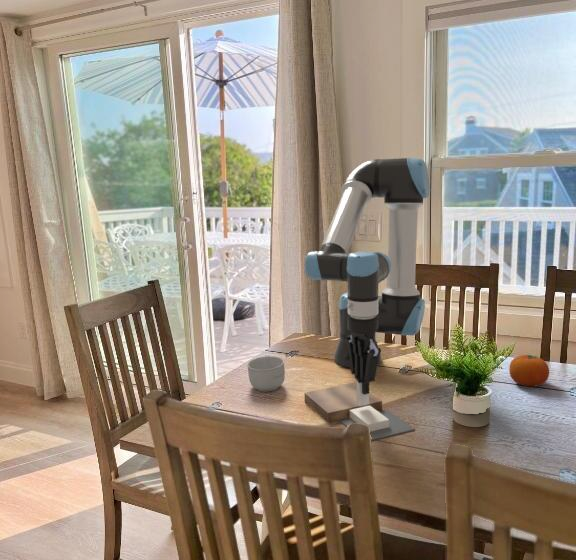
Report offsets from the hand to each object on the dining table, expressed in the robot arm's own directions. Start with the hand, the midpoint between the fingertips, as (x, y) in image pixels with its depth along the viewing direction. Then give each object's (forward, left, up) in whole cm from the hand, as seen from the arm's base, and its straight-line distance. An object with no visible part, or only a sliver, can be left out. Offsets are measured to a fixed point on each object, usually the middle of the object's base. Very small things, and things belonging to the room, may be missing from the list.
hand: (362, 403), depth 142 cm
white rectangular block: (0, +4, -3) cm, 5 cm away
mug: (-30, +6, -4) cm, 30 cm away
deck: (+1, -8, -4) cm, 9 cm away
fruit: (-54, +3, -4) cm, 54 cm away
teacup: (+14, -30, -4) cm, 34 cm away
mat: (-1, +6, -4) cm, 7 cm away
